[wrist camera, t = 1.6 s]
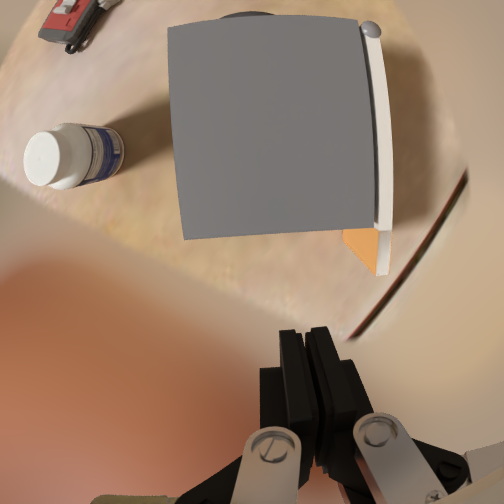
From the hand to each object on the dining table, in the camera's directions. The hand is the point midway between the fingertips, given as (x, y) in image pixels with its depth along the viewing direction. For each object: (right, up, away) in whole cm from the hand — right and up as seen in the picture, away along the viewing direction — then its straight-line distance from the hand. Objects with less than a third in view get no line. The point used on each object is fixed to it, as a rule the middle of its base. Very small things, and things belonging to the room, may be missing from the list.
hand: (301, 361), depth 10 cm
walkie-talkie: (-18, +34, +8) cm, 40 cm away
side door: (+7, +13, +14) cm, 21 cm away
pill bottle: (-16, +14, +15) cm, 26 cm away
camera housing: (0, +15, +14) cm, 20 cm away
